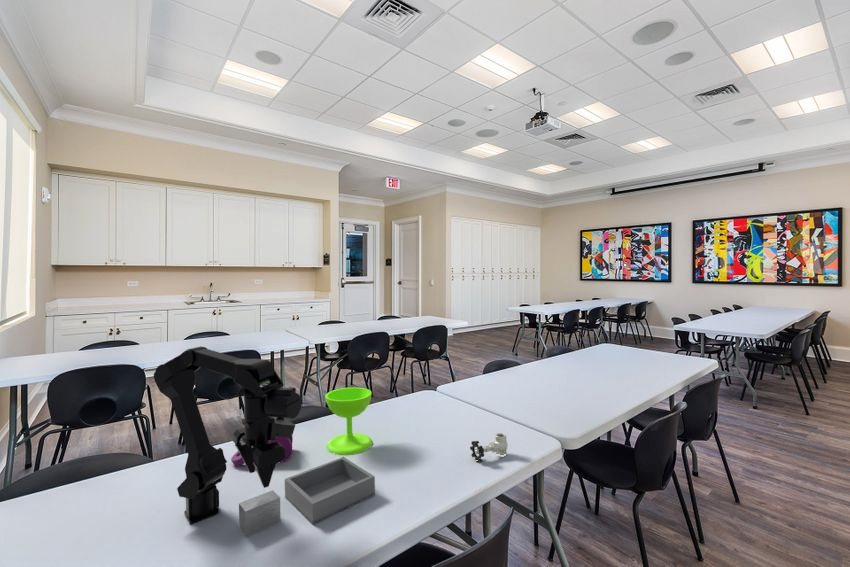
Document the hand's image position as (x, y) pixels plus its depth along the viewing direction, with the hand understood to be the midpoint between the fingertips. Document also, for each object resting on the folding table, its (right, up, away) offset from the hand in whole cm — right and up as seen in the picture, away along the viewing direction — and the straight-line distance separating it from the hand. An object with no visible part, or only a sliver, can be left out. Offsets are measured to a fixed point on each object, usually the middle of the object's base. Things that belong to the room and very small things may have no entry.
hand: (259, 479), depth 91 cm
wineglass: (+13, -10, +43) cm, 47 cm away
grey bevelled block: (0, -11, 0) cm, 11 cm away
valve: (+61, -10, +32) cm, 70 cm away
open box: (+14, -11, +12) cm, 21 cm away
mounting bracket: (-14, -11, +34) cm, 38 cm away
